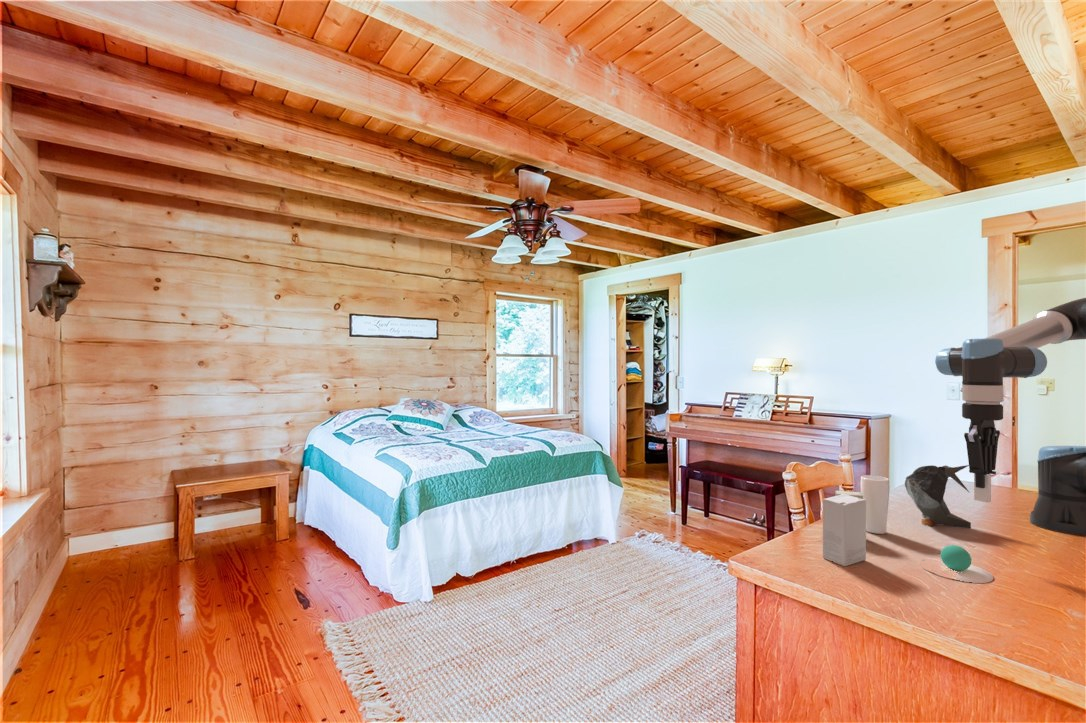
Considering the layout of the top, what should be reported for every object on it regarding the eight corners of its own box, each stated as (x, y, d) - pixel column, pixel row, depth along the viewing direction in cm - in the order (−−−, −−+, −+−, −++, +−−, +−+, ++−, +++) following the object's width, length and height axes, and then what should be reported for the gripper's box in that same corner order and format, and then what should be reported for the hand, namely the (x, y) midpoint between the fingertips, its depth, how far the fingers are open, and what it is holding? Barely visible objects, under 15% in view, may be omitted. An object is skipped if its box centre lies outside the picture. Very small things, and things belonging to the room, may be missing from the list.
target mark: (961, 559, 123) (961, 558, 123) (1010, 583, 110) (1010, 582, 110) (906, 559, 123) (906, 558, 123) (948, 583, 110) (948, 582, 110)
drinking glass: (894, 536, 139) (894, 481, 139) (866, 534, 140) (866, 480, 140) (883, 528, 145) (882, 475, 145) (856, 526, 147) (856, 474, 147)
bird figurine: (899, 514, 159) (899, 456, 159) (960, 520, 152) (960, 459, 152) (911, 528, 146) (910, 464, 146) (978, 535, 139) (978, 469, 139)
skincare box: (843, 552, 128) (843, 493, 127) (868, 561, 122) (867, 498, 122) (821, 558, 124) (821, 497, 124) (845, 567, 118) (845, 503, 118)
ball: (955, 572, 119) (959, 549, 120) (975, 576, 113) (980, 552, 114) (932, 562, 119) (937, 539, 120) (951, 567, 114) (956, 542, 115)
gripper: (975, 400, 130) (975, 493, 130) (950, 402, 123) (951, 500, 123) (1013, 402, 123) (1014, 500, 123) (989, 405, 117) (990, 508, 117)
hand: (982, 500), depth 123 cm, fingers closed
